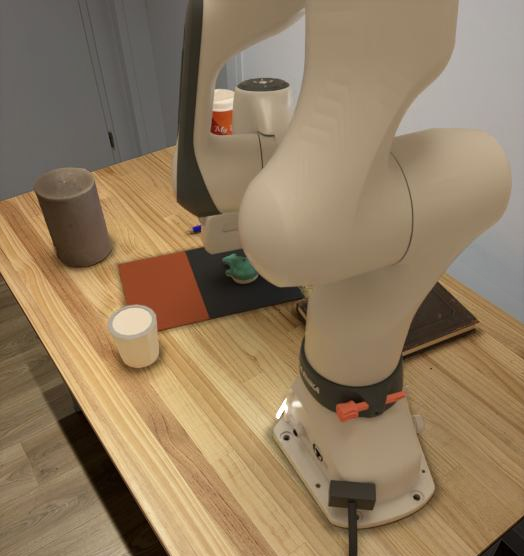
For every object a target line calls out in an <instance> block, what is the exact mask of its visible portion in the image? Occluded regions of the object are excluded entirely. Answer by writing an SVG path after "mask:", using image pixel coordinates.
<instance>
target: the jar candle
mask: <svg viewBox="0 0 524 556" xmlns="http://www.w3.org/2000/svg"><path fill="white" fill-rule="evenodd" d="M107 330H108V332H109V335H110V336H111V338H112V340H113V343H114V345H115V347H116V349H117V352H118V353H119V356H120V358H121V360H122V361H123V363H124V364H125V365H126V366H128V367H130V368H135V369H140V368H146V367H148V366H151V365H153V363H155V362H156V361H157V360H158V358H159V355H160V345H159V333H158V332H159V331H157V320H156V314H155V313H154V311H153V310H152V309H150V308H148V307H146V306H143V305H129V306H127V305H125V306H123V307H120V308H118V309H116V310H115V311H114V312H113V313H111V315H110V316H109V319H108V320H107Z"/></svg>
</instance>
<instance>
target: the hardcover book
mask: <svg viewBox="0 0 524 556" xmlns="http://www.w3.org/2000/svg"><path fill="white" fill-rule="evenodd" d="M308 300H309V298H308V299H304V300H302V301H299V302H296V305H295V311H296V313H297V315H298V316H299V318H300V319H301V320H302V322H303V323H304V324H305V325H306V318H307V306H308ZM479 323H480V320H479V319H478V318H477V317H476V316H475V315H474V314H473V313H472V312H470V310H469V309H468V308H467V307H465V306H464V304H462V303H461V302H460V301H459V300H458V298H456V297H455V296H454V295H453V293H451V292H450V291H449V290H448V289H447V288H445V286H443V285H442V284H441V283H440V281H439V280H438V281H437V283H436V284H435V285H434V287H433V288H432V289H431V291H430V292H429V293H428V295H427V296H426V298H425V299H424V300H423V302H422V303H421V305H420V307H419V308H418V310H417V312H416V313H415V315H414V317H413V320H412V322H411V325H410V328H409V331H408V334H407V337H406V340H405V343H404V346H403V349H402V354H403V361H404V360H406V359H409V358H411V357H413V356H417V355H418V354H419V355H420V354H421V353H424V352H427V351H430V350H432V349H435V348H436V347H439V346H442V345H444V344H447V343H449V342H452V341H455V340H457V339H460V338H462V337H465V336H467V335H469V334H472V333H475V332H476V331H477V329H476V328H475V327H476V325H477V324H479Z"/></svg>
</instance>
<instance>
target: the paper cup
mask: <svg viewBox="0 0 524 556" xmlns="http://www.w3.org/2000/svg"><path fill="white" fill-rule="evenodd" d="M234 92H235V91H234V90H230V89H226V88H225V89H224V88H215V93H214V102H213V112H212V121H211V131H210V132H211V133H212V134H215V135H232V111H233V100H234Z"/></svg>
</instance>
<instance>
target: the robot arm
mask: <svg viewBox="0 0 524 556" xmlns="http://www.w3.org/2000/svg"><path fill="white" fill-rule="evenodd" d="M459 3H460V0H188V2H187V6H186V11H185V16H184V25H183V26H184V27H183V39H182V47H181V48H182V49H181V57H180V72H179V73H180V74H179V90H178V110H177V132H176V143H175V147H174V151H173V154H172V158H171V159H172V160H171V166H170V167H171V168H170V181H171V182H170V184H171V188H172V192H173V196H174V198H175V200H176V203H177V204H178V205H179V206H180V207H182V208H183V210H185V211H187V212H188V213H190V214H191V215H192V216H195V217H196V218H198V222H199V223H200V225H201V230H200V231H201V232H200V236H201V237H200V238H201V242H202V245H203V246H202V247H204V248H205V250H206V251H207V252H208V253H210V254H217V253H222V252H227V251H232V250H237V249H242V248H243V251H244V253H245V255H246V257H247V259H248V260H249V262H250V264H251V265H252V266H253V267H254V269H255V270H256V271H257V272H258V273H259V274H260V275H261V276H262V277H263V278H264V279H266V280H267V281H269V282H270V283H272V284H274V285H275V286H277V287H295V286H298V287H309V286H313V287H312V288H311V291H310V292H309V293H310V294H309V296H308V299H309V300H308V299H307V300H308V306H307V318H306V324H305V331H304V332H305V334H304V335H303V337H302V340H301V343H300V347H299V351H298V372H297V374H296V376H295V377H294V379H293V381H292V383H291V385H290V386H289V387H288V390H287V392H286V398H285V399H284V401H283V402H282V404H281V406H280V408H279V410H278V411H277V413H276V416H275V418H277V419H279V420H278V421H277V423H276V424H275V425H274V427H273V431H272V437H273V440H274V441H275V442H276V444H277V446H278V447H279V449H280V450H281V452H282V453H283V454H284V456H285V457H286V459H287V460H288V462H289V464H290V465H291V466H292V468H293V470H294V471H295V473H296V474H297V476H299V479H300V480H301V481H302V483H303V485H304V486H305V488H306V489H307V490H308V492H309V494H310V495H311V496H312V499H314V501H315V503H316V504H317V505H318V507H319V508H320V510H321V512H322V513H323V514H324V516H325V517H326V519H327V520H328V522H329V523H330V524H332V525H334V526H336V527H340V528H344V529H347V530H348V556H358V553H359V552H358V551H359V550H358V549H359V547H358V542H359V541H358V529H369V528H374V527H379V526H380V527H381V526H383V525H387V524H391V523H393V522H396V521H399V520H402V519H404V518H406V517H409V516H411V515H412V514H414V513H415V512H417V511H419V510H420V509H422V508H423V507H424V506H425V505H426V504H427V503H428V502H429V501H430V500H431V499H432V497H433V495H434V493H435V491H436V486H435V482H434V479H433V475H432V474H431V471H430V468H429V465H428V462H427V459H426V456H425V454H424V451H423V448H422V446H421V442H420V440H419V436H418V435H417V434H421V433H423V432H424V431H425V429H426V427H425V425H426V423H425V420H424V417H423V415H421V414H420V413H416V414H412V412H411V409H410V406H409V402H408V398H407V397H409V396H410V394H411V391H410V390H411V389H410V387H409V385H407V384H406V385H404V371H405V363H404V360H403V354H402V349H403V346H404V343H405V340H406V337H407V334H408V331H409V328H410V325H411V322H412V320H413V317H414V315H415V313H416V312H417V310H418V308H419V307H420V305H421V303H422V302H423V300H424V299H425V298H426V296H427V295H428V293H429V292H430V291H431V289H432V288H433V287H434V285H435V284H436V283H437V281H438V282H439V280H440V279H441V277H442V276H443V275H444V274H445V273H446V271H447V270H448V268H449V267H450V266H451V265H452V264H453V263H454V262H455V261H456V259H457V258H458V257H459V256H460V255H461V254H462V253H463V252H464V251H465V250H466V249H467V248H468V247H469V246H470V245H471V244H472V243H473V242H474V241H475V240H476V239H478V238H479V237H480V236H482V235H483V234H484V233H485V232H487V231H488V230H489V229H490V228H492V227H493V226H495V225H496V224H497V223H498V222H499V221H500V220H501V219H502V217H503V215H504V214H505V213H506V211H507V208H508V205H509V202H510V198H511V194H512V186H513V184H512V183H513V180H512V179H513V177H512V169H511V166H510V162H509V159H508V156H507V154H506V152H505V151H504V149H503V147H502V146H501V144H500V143H499V142H498V140H497V139H496V138H495V137H494V136H493V135H491V134H490V133H488V132H486V131H484V130H482V129H478V128H460V127H443V128H442V127H433V128H426V129H422V130H418V131H414V132H410V133H405V134H400V135H396V134H397V131H398V128H399V126H400V124H401V122H402V121H403V119H404V117H405V115H406V113H407V112H408V110H409V108H410V107H411V106H412V104H413V103H414V102H415V101H416V99H417V98H418V97H419V96H420V95H421V94H422V93H423V92H424V91H425V90H426V89H427V88H429V87H430V86H431V85H432V84H433V83H434V82H435V81H436V80H437V79H438V78H439V77H441V75H442V73H443V72H444V71H445V69H446V68H447V66H448V64H449V62H450V60H451V58H452V55H453V53H454V50H455V45H456V35H457V25H458V14H459ZM303 17H305V18H304V19H305V20H304V21H305V22H304V24H305V25H304V30H305V32H304V33H305V34H304V65H303V73H302V80H301V84H300V90H299V93H298V94H299V95H298V98H297V102H296V105H295V104H294V95H293V88H292V85H291V83H289V82H287V81H285V80H284V79H282V78H281V79H280V78H273V77H256V78H249V79H245V80H243V81H241V82H240V83H238V84H237V85H236V86H235V88H234V91H233V92H234V100H233V111H232V135H215V134H212V133H211V132H210V131H211V121H212V112H213V102H214V93H215V89H216V84H217V80H218V76H219V74H220V72H221V70H222V69H223V67H224V66H225V65H226V64H227V63H228V62H229V61H230V60H232V59H233V58H234V57H236V56H237V55H239V54H241V53H242V52H243V51H245V50H247V49H248V48H251V47H253V46H254V45H256V44H258V43H261V42H263V41H266V40H268V39H270V38H273V37H274V36H276V35H279V34H281V33H282V32H284V31H286V30H288V29H289V28H290V27H293V25H295V24H296V23H297V22H299V20H301V19H302V18H303ZM282 413H283V415H282ZM281 416H282V417H281ZM280 417H281V418H280ZM285 439H288V440H285ZM414 498H417V499H418V500H416V499H414Z"/></svg>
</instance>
